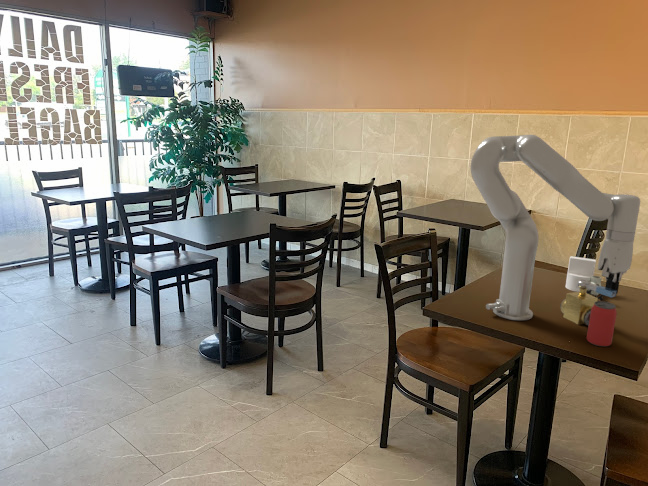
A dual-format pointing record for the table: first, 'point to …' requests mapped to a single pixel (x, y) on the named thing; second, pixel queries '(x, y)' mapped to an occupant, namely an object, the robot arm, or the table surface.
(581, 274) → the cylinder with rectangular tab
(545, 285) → the table surface
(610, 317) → the beer can
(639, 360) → the table surface
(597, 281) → the valve
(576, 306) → the pipe valve
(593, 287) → the lever
